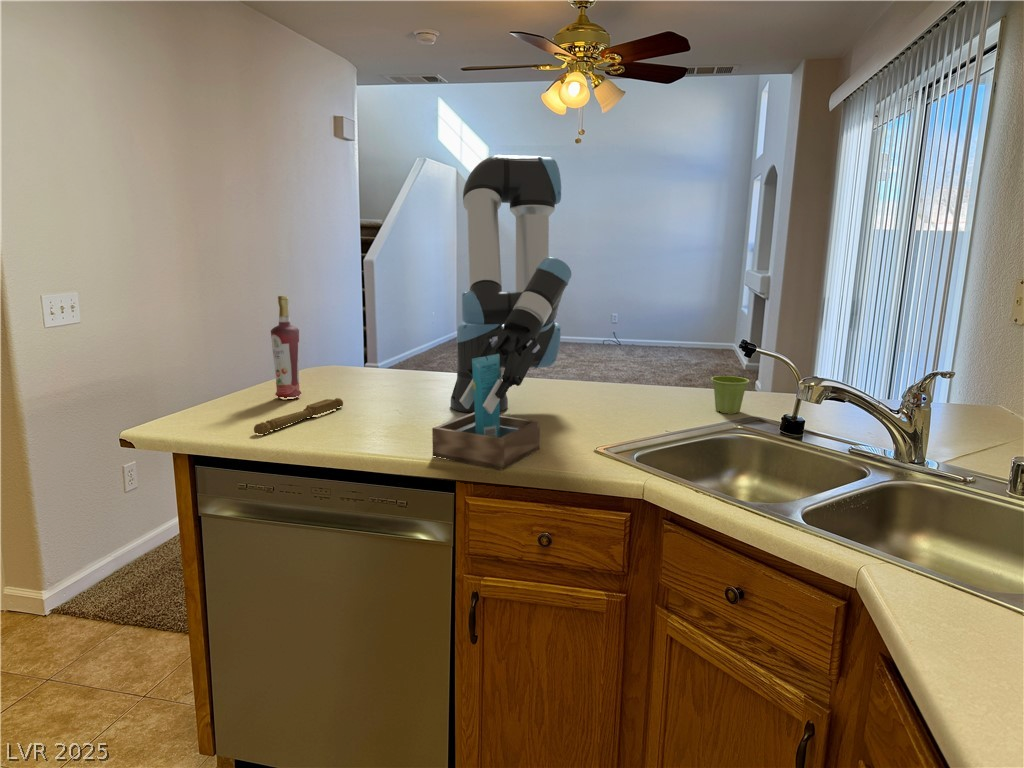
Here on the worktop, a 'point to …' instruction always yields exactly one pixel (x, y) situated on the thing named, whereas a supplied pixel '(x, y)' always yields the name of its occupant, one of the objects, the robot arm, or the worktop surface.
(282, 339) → the liquor
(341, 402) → the tap handle
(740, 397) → the plant pot
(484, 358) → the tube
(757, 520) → the worktop surface
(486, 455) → the crate
